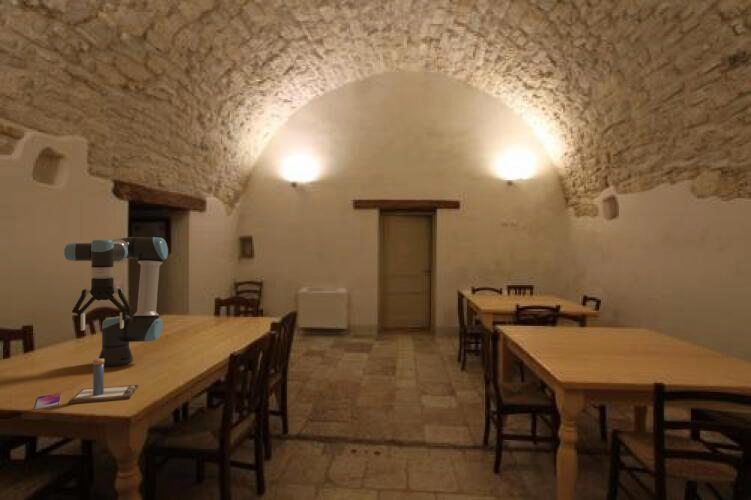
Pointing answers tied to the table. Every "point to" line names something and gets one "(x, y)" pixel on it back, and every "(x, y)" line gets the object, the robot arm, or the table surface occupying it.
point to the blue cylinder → (98, 377)
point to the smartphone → (48, 401)
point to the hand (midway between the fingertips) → (102, 328)
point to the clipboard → (104, 394)
